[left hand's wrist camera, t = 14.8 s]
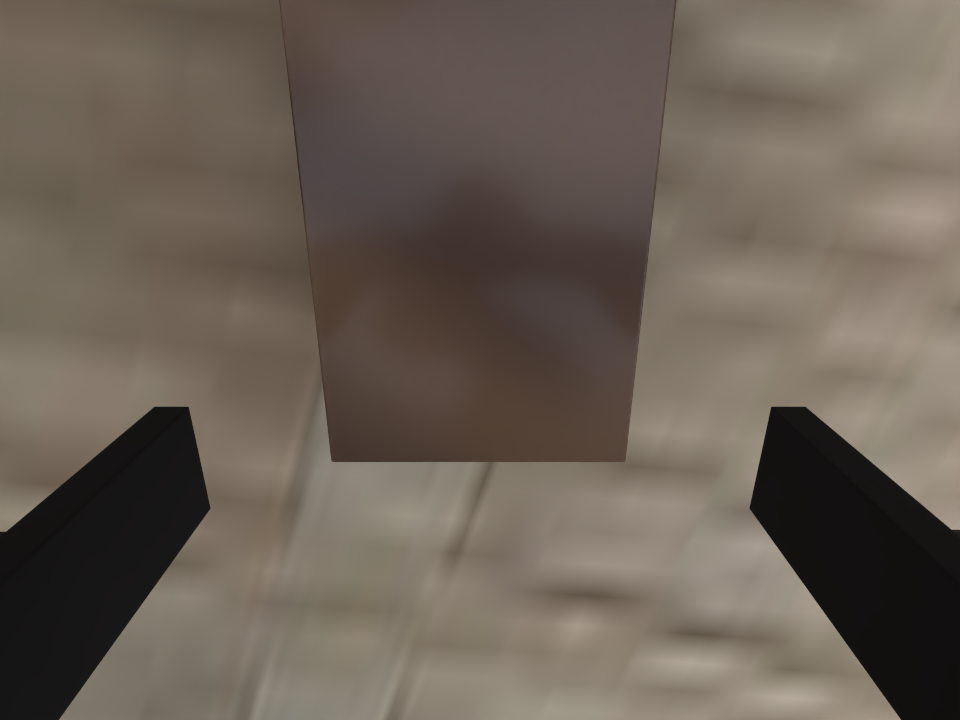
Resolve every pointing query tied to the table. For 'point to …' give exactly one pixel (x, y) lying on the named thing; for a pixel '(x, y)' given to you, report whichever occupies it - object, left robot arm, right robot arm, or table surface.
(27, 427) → the table surface
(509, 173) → the long brown box
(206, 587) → the table surface
